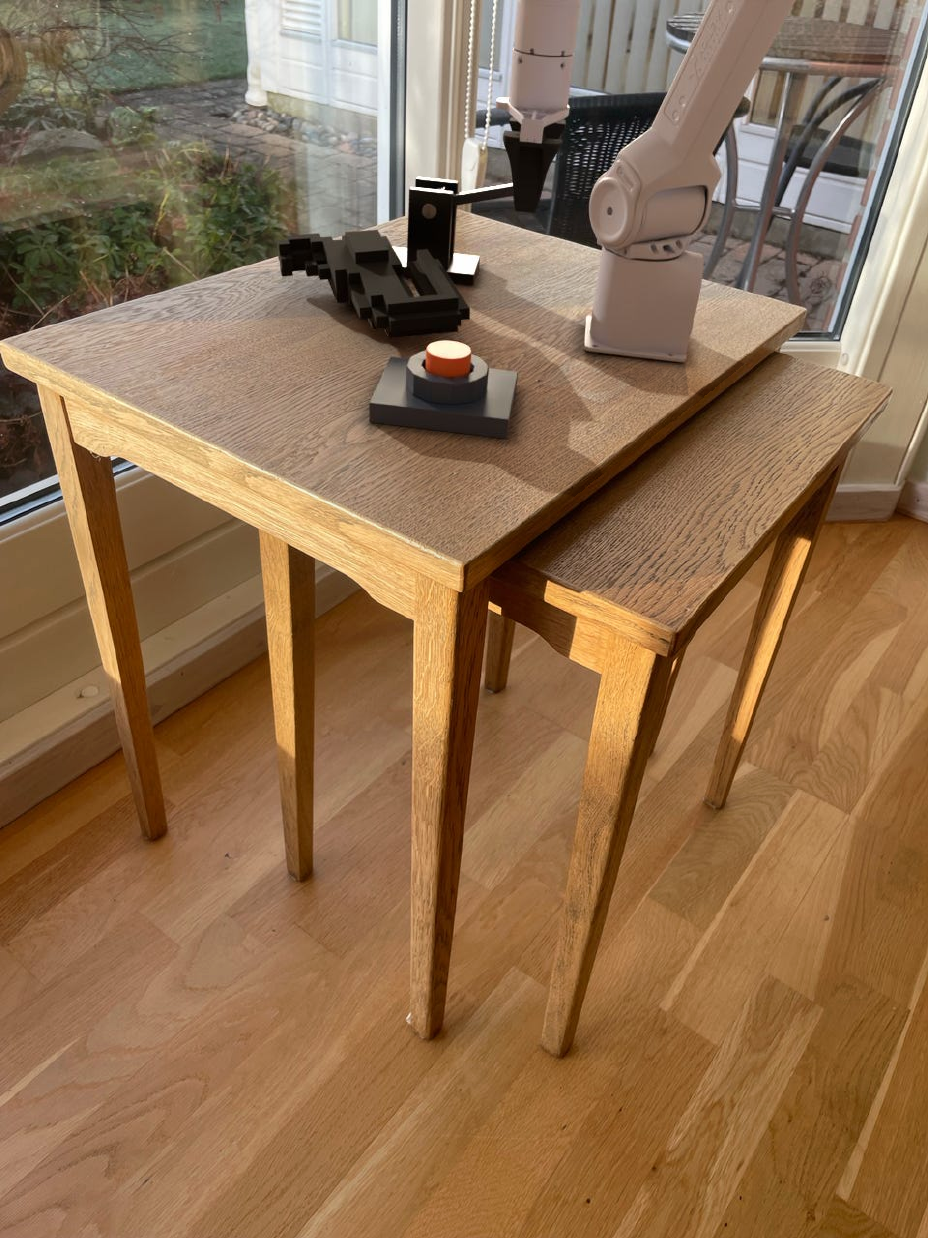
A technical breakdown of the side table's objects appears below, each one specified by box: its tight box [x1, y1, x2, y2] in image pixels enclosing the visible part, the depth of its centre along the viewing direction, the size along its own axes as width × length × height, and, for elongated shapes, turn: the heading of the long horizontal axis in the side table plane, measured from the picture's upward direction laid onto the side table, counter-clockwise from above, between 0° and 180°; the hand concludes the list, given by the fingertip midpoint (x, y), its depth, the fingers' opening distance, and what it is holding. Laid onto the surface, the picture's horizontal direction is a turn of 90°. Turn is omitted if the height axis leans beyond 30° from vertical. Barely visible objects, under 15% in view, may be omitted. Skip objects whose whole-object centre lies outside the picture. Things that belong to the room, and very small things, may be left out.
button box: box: [368, 350, 519, 440], centre depth 80 cm, size 11×9×4 cm
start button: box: [425, 340, 473, 378], centre depth 79 cm, size 4×4×2 cm
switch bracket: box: [392, 176, 481, 287], centre depth 103 cm, size 10×6×9 cm, turn 83°
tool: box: [276, 229, 471, 339], centre depth 94 cm, size 5×20×15 cm
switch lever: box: [432, 182, 513, 207], centre depth 101 cm, size 12×5×2 cm, turn 83°
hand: (527, 202), depth 100 cm, fingers closed on switch lever, 5 cm apart
